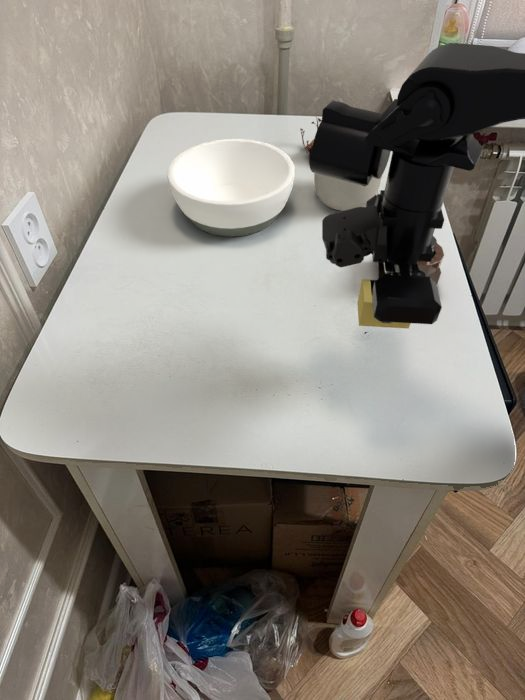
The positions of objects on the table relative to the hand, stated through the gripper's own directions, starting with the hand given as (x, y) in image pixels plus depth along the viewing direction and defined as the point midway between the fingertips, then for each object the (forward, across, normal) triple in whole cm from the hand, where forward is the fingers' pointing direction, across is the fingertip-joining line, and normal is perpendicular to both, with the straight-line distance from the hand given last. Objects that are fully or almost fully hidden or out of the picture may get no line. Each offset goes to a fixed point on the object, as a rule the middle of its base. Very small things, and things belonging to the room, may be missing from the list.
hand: (384, 309), depth 61 cm
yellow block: (+1, 0, 0) cm, 1 cm away
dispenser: (+11, -19, +7) cm, 23 cm away
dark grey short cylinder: (+5, -18, +8) cm, 20 cm away
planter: (+12, -41, -2) cm, 43 cm away
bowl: (+12, -37, -23) cm, 45 cm away
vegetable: (+12, -59, -3) cm, 60 cm away
